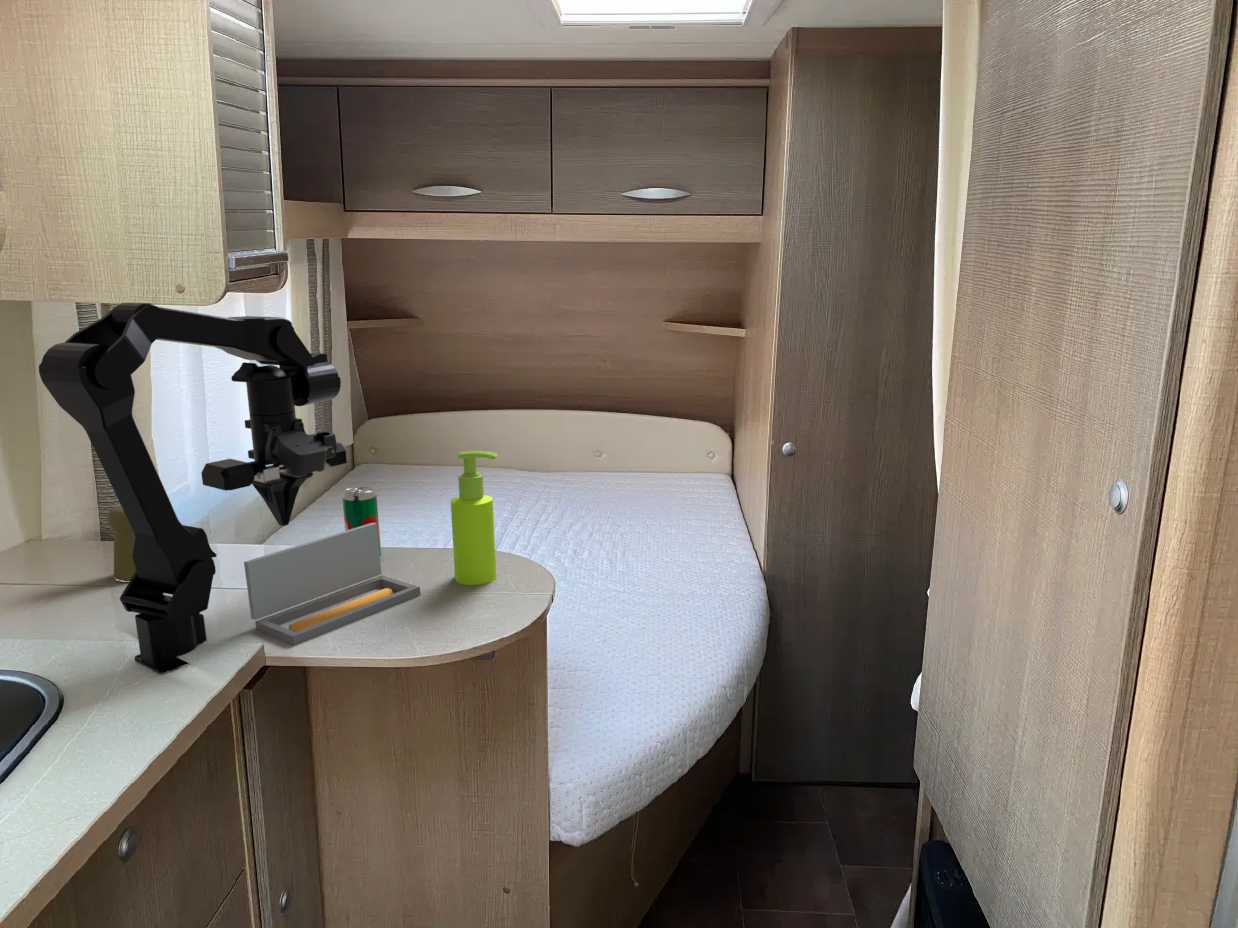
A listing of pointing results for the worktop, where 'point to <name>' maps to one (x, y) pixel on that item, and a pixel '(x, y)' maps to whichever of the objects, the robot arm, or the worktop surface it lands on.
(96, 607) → the worktop surface
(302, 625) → the orange rounded rod
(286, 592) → the cover
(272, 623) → the grey rectangular tray
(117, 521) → the cork
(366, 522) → the soda can
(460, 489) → the soap dispenser
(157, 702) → the worktop surface
